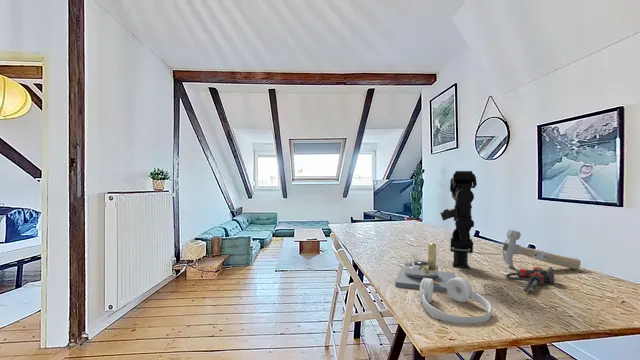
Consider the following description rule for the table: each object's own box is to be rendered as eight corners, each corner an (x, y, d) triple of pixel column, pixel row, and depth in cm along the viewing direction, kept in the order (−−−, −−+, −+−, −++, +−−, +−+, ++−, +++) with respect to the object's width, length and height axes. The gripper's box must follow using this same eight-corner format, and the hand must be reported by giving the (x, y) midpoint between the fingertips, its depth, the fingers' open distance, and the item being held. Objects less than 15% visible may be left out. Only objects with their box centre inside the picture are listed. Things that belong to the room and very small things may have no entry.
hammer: (577, 245, 139) (506, 228, 141) (585, 248, 134) (512, 230, 137) (568, 280, 139) (497, 263, 142) (575, 284, 135) (503, 266, 137)
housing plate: (401, 271, 133) (401, 266, 133) (454, 276, 126) (454, 272, 126) (395, 286, 114) (395, 281, 114) (457, 293, 107) (457, 288, 107)
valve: (512, 277, 132) (557, 279, 123) (497, 297, 113) (549, 302, 103) (510, 261, 133) (554, 262, 123) (494, 279, 113) (546, 282, 103)
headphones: (410, 274, 103) (437, 308, 84) (466, 273, 105) (505, 307, 85) (409, 294, 104) (435, 334, 85) (464, 293, 106) (502, 332, 86)
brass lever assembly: (399, 270, 127) (399, 237, 127) (427, 269, 129) (428, 236, 129) (417, 283, 112) (418, 245, 112) (449, 281, 114) (449, 244, 114)
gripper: (441, 200, 140) (441, 236, 140) (441, 203, 122) (441, 244, 122) (469, 201, 136) (469, 238, 136) (474, 204, 118) (473, 247, 118)
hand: (462, 241), depth 128 cm, fingers closed
